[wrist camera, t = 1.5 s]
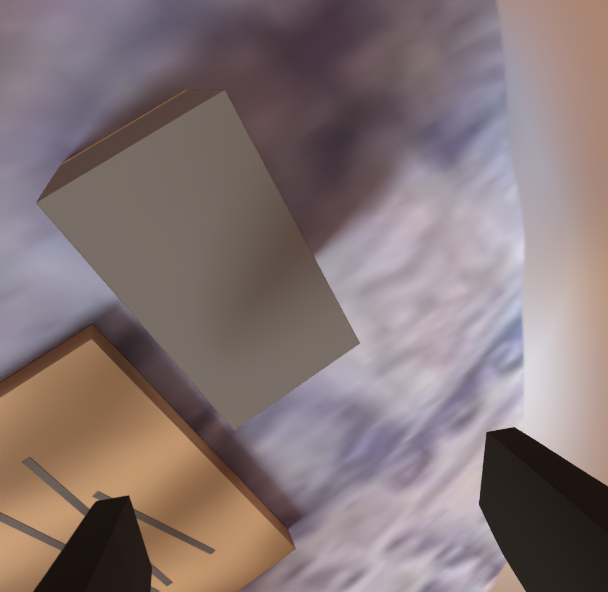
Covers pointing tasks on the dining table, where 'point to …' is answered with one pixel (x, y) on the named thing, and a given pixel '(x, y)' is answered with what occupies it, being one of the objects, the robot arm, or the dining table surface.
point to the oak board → (120, 475)
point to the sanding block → (202, 252)
